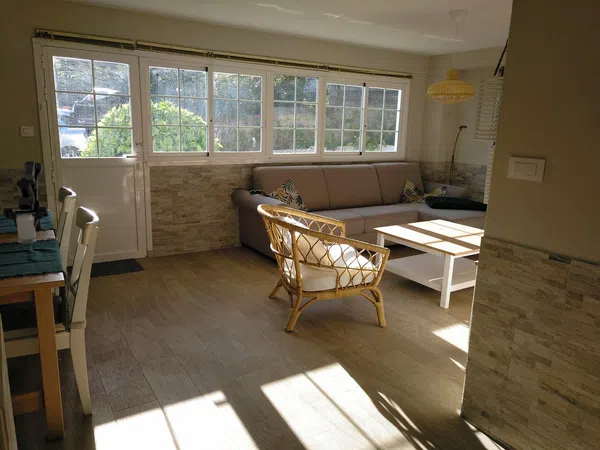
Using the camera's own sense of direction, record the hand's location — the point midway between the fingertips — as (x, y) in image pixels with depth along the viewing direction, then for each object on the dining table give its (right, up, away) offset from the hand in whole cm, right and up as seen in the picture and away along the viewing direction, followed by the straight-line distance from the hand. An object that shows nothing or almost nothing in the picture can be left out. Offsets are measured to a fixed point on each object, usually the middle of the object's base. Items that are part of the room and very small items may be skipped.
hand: (25, 226), depth 221 cm
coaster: (-1, -7, +3) cm, 8 cm away
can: (-1, -6, +3) cm, 7 cm away
